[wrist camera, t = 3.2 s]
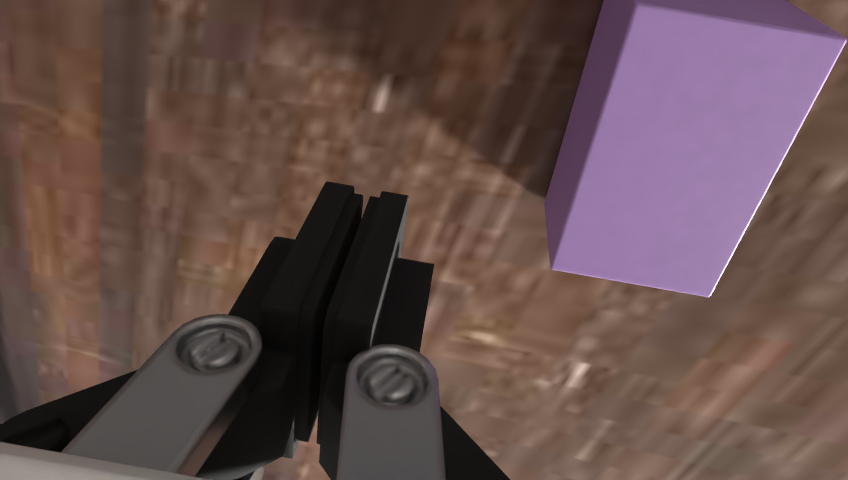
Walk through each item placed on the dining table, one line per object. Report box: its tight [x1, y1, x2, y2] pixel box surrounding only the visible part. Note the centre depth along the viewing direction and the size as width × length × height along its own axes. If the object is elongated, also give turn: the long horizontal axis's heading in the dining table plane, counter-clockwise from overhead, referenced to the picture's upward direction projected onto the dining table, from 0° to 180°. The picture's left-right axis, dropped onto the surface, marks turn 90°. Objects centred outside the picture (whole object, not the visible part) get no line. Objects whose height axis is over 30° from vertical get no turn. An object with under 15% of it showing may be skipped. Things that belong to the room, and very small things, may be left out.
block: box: [544, 0, 847, 297], centre depth 18 cm, size 8×5×4 cm, turn 172°
